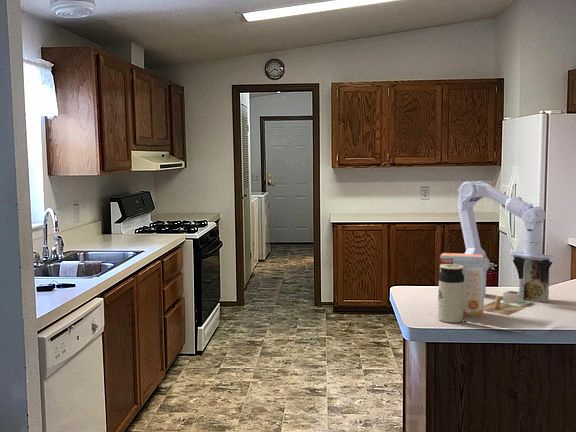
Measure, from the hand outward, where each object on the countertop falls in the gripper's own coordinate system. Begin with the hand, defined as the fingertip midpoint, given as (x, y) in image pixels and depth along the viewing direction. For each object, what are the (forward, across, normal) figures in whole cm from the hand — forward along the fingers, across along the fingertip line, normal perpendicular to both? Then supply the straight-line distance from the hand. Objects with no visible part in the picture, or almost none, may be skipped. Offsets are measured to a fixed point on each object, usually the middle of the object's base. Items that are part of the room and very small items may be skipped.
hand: (531, 280), depth 217 cm
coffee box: (+10, -4, +12) cm, 16 cm away
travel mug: (+10, -13, -34) cm, 38 cm away
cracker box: (+10, -13, -27) cm, 31 cm away
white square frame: (+9, -6, -1) cm, 11 cm away
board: (+10, -6, -8) cm, 14 cm away
